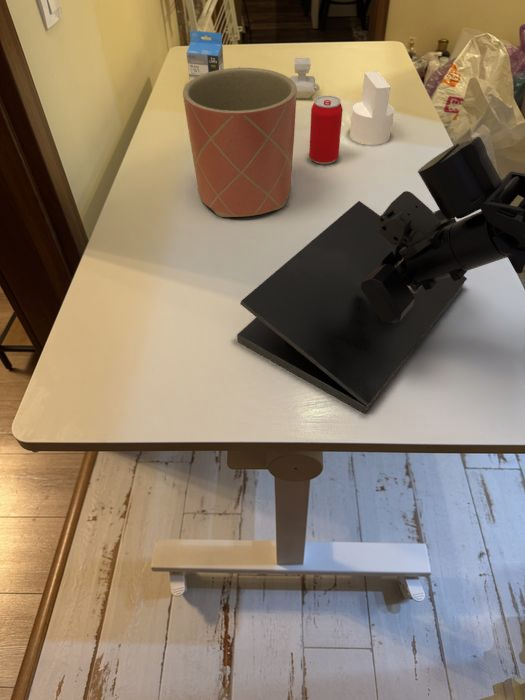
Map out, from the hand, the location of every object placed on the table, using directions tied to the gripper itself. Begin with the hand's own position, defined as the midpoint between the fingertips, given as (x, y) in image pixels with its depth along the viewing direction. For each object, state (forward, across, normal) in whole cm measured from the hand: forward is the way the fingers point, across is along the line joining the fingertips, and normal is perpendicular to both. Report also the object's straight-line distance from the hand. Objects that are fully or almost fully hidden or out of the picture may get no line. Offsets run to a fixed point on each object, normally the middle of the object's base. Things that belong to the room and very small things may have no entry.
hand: (368, 282), depth 72 cm
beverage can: (+28, -38, -17) cm, 50 cm away
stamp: (+44, -62, -33) cm, 83 cm away
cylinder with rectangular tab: (+26, -53, -16) cm, 61 cm away
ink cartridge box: (+61, -53, -51) cm, 95 cm away
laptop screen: (+2, 0, +1) cm, 3 cm away
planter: (+31, -16, -20) cm, 40 cm away
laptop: (+6, 0, +4) cm, 7 cm away
